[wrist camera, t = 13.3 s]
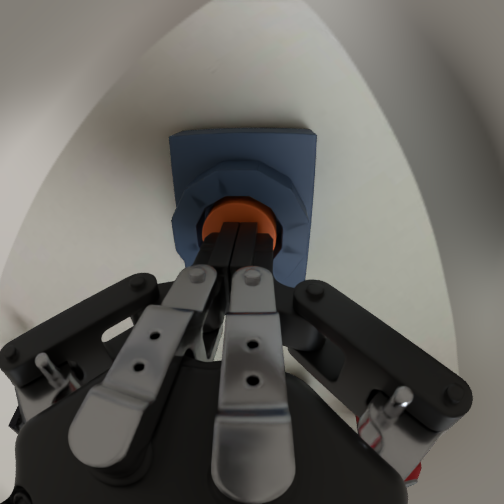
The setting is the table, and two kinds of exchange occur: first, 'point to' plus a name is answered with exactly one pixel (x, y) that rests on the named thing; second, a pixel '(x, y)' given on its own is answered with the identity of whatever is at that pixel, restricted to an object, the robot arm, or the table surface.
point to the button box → (246, 186)
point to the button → (240, 215)
